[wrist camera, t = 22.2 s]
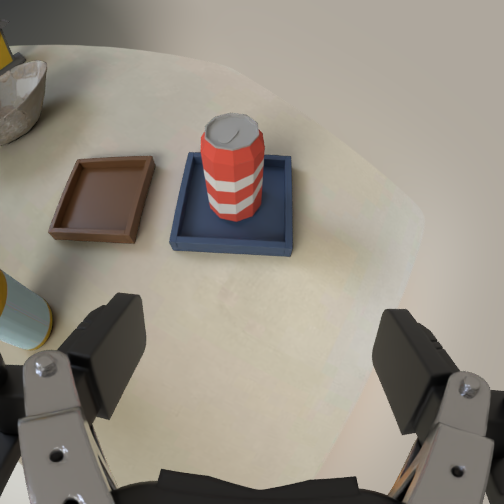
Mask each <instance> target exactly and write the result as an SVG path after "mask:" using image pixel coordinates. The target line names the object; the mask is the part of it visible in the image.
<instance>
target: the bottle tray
mask: <svg viewBox="0 0 504 504" xmlns="http://www.w3.org/2000/svg"><path fill="white" fill-rule="evenodd" d="M154 169H155V163H154V160H153V157H152V156H129V157H107V158H91V159H78V160H77V161H76V163H75V165H74V168H73V170H72V172H71V174H70V177H69V179H68V181H67V184H66V186H65V189H64V191H63V193H62V196H61V198H60V201H59V203H58V206H57V209H56V211H55V214H54V217H53V219H52V222H51V225H50V228H49V231H48V233H49V234H50V235H51V236H52V237H53V238H54V239H55V240H75V241H94V242H113V243H133V244H134V243H135V239H136V235H137V231H138V227H139V223H140V219H141V215H142V211H143V207H144V204H145V200H146V196H147V193H148V189H149V186H150V182H151V179H152V175H153V172H154Z"/></svg>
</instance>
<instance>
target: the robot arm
mask: <svg viewBox="0 0 504 504" xmlns="http://www.w3.org/2000/svg"><path fill="white" fill-rule="evenodd" d="M145 346H146V330H145V323H144V314H143V306H142V299H141V297H140V295H136V294H127V293H117V294H116V295H115V296H114V297H113V298H112V299H111V300H110V301H109V303H108V304H107V305H102V306H100V307H99V308H97V309H95V310H93V311H91V312H90V313H89V314H88V316H87V317H86V318H85V319H84V320H83V322H81V323H80V324H79V326H78V327H77V329H75V330H74V331H73V332H72V333H71V335H70V336H69V337H68V338H67V339H66V340H65V341H64V343H63V344H62V345H61V346H60V347H59V348H58V350H57V351H56V350H45V351H41V352H38V353H36V354H34V355H32V356H31V357H29V358H28V359H27V360H26V362H25V363H24V365H5V363H4V361H3V358H2V356H1V354H0V496H1V494H2V492H3V490H4V488H5V486H6V484H7V482H8V480H9V478H10V476H11V474H12V472H13V470H14V468H15V466H16V464H17V462H18V460H19V458H20V456H21V457H22V463H23V469H24V475H25V480H26V485H27V490H28V494H29V499H30V503H31V504H482V503H483V499H484V495H485V492H486V494H487V497H488V500H489V503H490V504H504V391H496V390H490V387H489V385H488V384H487V382H486V381H485V380H484V379H483V378H481V377H479V376H478V375H476V374H474V373H471V372H465V371H460V370H459V369H458V368H457V366H456V365H455V363H454V362H453V361H452V359H451V358H450V356H449V355H448V354H447V352H446V351H445V350H444V349H443V347H442V346H441V344H440V343H439V342H437V339H436V338H435V336H434V335H433V334H432V332H431V331H430V330H429V329H427V328H426V327H424V326H423V325H421V324H420V323H417V322H416V320H415V319H414V318H413V316H412V315H411V314H410V312H409V311H408V310H407V309H386V310H384V312H383V314H382V317H381V321H380V325H379V328H378V332H377V336H376V339H375V343H374V346H373V352H372V361H373V365H374V368H375V370H376V373H377V375H378V377H379V380H380V382H381V384H382V387H383V389H384V391H385V394H386V396H387V399H388V401H389V404H390V406H391V409H392V411H393V413H394V416H395V418H396V421H397V424H398V426H399V429H400V431H401V434H402V435H405V434H412V433H416V434H417V436H418V437H417V439H416V441H415V443H414V444H413V446H412V449H411V451H410V453H409V456H408V458H407V460H406V462H405V464H404V466H403V468H402V470H401V472H400V474H399V476H398V478H397V480H396V482H395V484H394V486H393V487H392V489H391V491H390V493H389V494H388V495H385V494H382V493H379V492H375V491H370V490H366V489H359V488H358V483H357V478H356V477H355V476H354V477H344V478H332V479H315V480H307V481H303V482H299V483H294V484H290V485H285V486H280V487H275V488H270V489H264V490H257V489H252V488H248V487H244V486H240V485H237V484H233V483H230V482H226V481H223V480H220V479H217V478H213V477H210V476H205V475H197V474H190V473H183V472H176V471H171V470H165V469H161V471H160V475H159V478H158V481H147V482H139V483H134V484H130V485H126V486H123V487H120V488H119V487H118V485H117V483H116V481H115V479H114V477H113V474H112V472H111V470H110V468H109V465H108V463H107V460H106V458H105V455H104V453H103V450H102V448H101V445H100V442H99V440H98V437H97V434H96V432H95V429H94V426H93V424H92V423H93V421H94V420H95V418H96V417H100V418H104V419H108V420H110V418H111V416H112V414H113V412H114V410H115V408H116V406H117V404H118V402H119V400H120V398H121V396H122V394H123V392H124V390H125V388H126V386H127V384H128V382H129V380H130V378H131V376H132V374H133V372H134V370H135V368H136V367H137V365H138V363H139V361H140V359H141V357H142V355H143V353H144V350H145Z"/></svg>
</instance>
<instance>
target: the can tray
mask: <svg viewBox="0 0 504 504" xmlns="http://www.w3.org/2000/svg"><path fill="white" fill-rule="evenodd" d="M169 243H170V245H171V247H172V249H173V250H177V251H195V252H213V253H232V254H250V255H268V256H287V257H290V256H291V252H292V249H293V231H292V169H291V156H279V155H264V166H263V182H262V198H261V205H260V207H259V208H258V209H257V211H256V212H255V213H254V215H253V216H252V217H249V218H246V219H243V220H240V221H237V222H236V221H231V220H226V219H221V218H219V217H218V215H217V214H216V213H215V212H214V211H213V210H212V209H211V208H210V204H209V198H208V193H207V187H206V181H205V175H204V169H203V163H202V156H201V152H195V153H194V152H189V153H188V157H187V161H186V165H185V170H184V174H183V178H182V183H181V187H180V192H179V196H178V201H177V206H176V210H175V215H174V220H173V225H172V230H171V235H170V241H169Z"/></svg>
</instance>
